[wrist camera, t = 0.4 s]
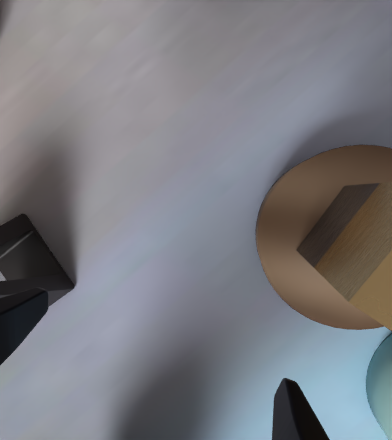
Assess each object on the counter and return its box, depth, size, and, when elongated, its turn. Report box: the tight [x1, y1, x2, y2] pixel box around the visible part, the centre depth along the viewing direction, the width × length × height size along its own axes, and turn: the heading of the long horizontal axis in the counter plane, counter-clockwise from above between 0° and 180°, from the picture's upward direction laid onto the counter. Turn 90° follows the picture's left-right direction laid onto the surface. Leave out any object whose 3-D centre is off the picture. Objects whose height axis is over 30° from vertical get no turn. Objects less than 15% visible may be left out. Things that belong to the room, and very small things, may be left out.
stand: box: [256, 145, 392, 330], centre depth 19 cm, size 13×13×3 cm
